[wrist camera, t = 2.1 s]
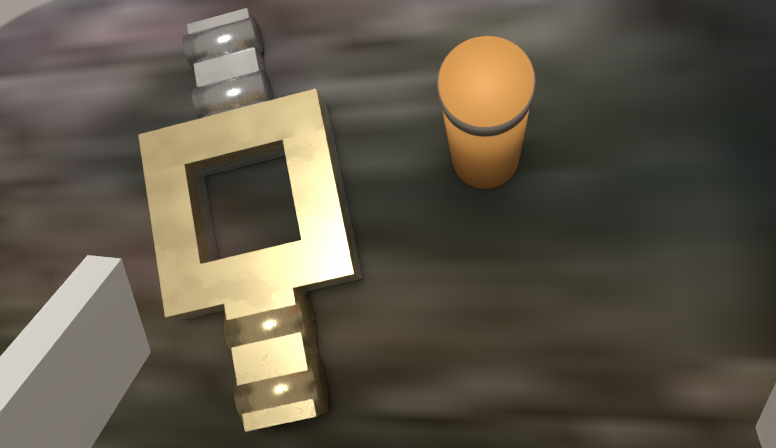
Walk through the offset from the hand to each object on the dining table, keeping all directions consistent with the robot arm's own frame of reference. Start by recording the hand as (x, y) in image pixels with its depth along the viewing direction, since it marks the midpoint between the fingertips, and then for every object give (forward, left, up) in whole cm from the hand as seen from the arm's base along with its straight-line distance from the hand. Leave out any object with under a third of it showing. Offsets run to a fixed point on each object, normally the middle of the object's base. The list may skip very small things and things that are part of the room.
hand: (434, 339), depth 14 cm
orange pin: (+5, -10, -26) cm, 28 cm away
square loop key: (+15, 0, -26) cm, 30 cm away
